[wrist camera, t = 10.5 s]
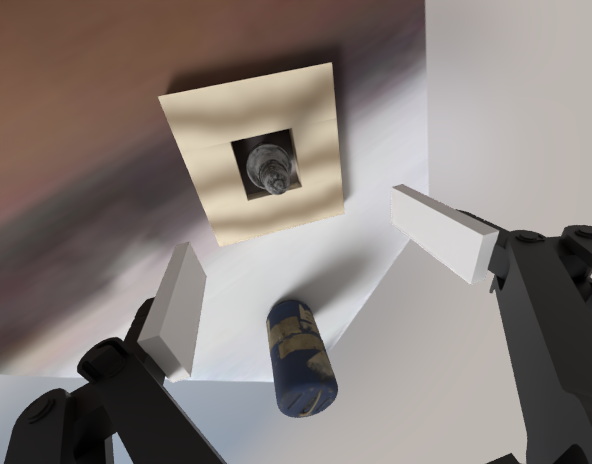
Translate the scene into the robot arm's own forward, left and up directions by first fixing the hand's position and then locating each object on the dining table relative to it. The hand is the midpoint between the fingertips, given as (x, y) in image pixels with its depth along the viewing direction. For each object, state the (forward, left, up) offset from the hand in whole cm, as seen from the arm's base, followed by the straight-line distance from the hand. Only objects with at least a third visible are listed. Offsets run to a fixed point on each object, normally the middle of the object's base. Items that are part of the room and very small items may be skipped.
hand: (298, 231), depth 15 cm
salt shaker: (0, 0, -22) cm, 22 cm away
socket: (0, 0, -22) cm, 22 cm away
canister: (+31, -3, -22) cm, 38 cm away
